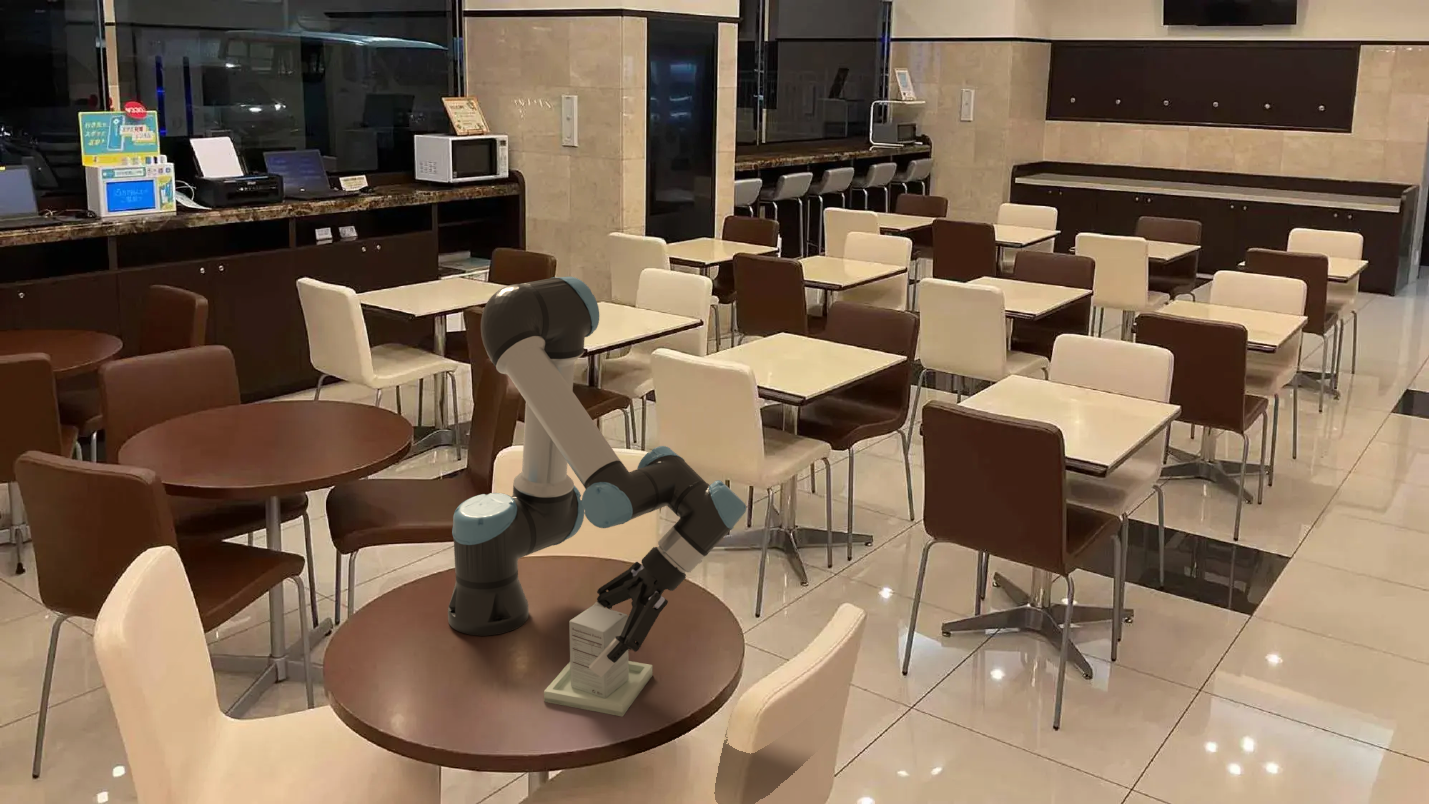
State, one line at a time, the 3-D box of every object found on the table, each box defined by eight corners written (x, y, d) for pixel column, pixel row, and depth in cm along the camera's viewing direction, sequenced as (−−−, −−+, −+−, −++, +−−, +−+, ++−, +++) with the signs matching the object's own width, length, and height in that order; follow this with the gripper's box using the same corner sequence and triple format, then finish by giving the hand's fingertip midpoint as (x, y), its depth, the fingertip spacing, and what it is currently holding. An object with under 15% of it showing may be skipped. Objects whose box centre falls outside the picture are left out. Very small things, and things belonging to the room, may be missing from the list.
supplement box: (594, 668, 206) (594, 603, 202) (629, 680, 202) (629, 613, 198) (569, 687, 199) (567, 620, 196) (604, 699, 196) (604, 631, 192)
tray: (544, 701, 197) (544, 690, 196) (578, 661, 209) (578, 651, 209) (622, 716, 193) (622, 705, 192) (652, 675, 205) (652, 664, 205)
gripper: (709, 604, 189) (619, 701, 188) (666, 543, 211) (585, 630, 211) (678, 578, 186) (586, 676, 185) (637, 519, 208) (555, 607, 208)
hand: (585, 652), depth 198 cm, fingers open, 13 cm apart
